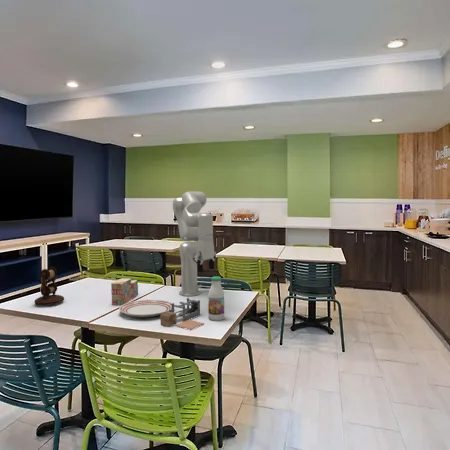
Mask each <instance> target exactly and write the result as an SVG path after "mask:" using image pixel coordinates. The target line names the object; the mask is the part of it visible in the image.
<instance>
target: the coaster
mask: <svg viewBox="0 0 450 450" xmlns="http://www.w3.org/2000/svg"><path fill="white" fill-rule="evenodd" d="M202 324H203V325H204V324H205V323H204V322H201V321H197V320H192V319H190V320H189V319H188V320H186V321H184V322H183V321H181V322H179V323H176V324H175V327H176V326H177V328H180V327H182V328H181V329H184V328H187V329H186V330H188V329H193V328H195V327H197V326H199V327H201V326H203V325H202ZM200 325H201V326H200ZM197 328H198V327H197ZM195 329H196V328H195ZM193 330H194V329H193Z"/></svg>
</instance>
